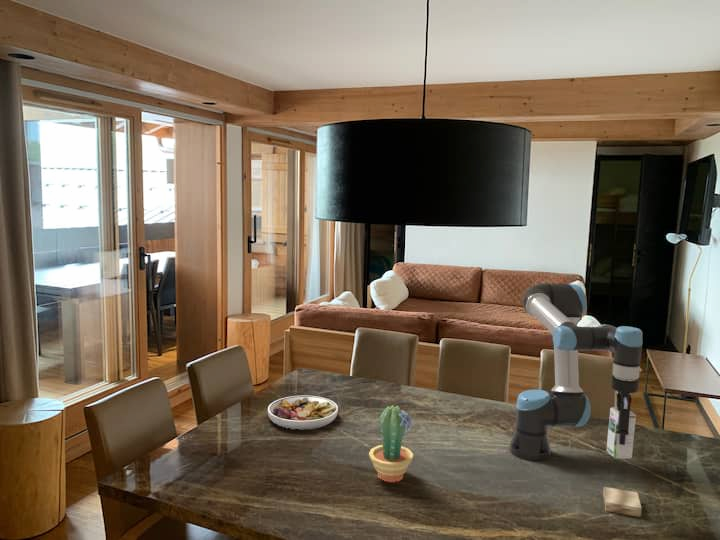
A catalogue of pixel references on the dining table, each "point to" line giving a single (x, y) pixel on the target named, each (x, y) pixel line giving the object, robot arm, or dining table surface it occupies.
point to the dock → (622, 501)
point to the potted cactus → (392, 445)
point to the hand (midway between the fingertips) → (619, 448)
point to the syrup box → (613, 435)
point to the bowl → (302, 412)
